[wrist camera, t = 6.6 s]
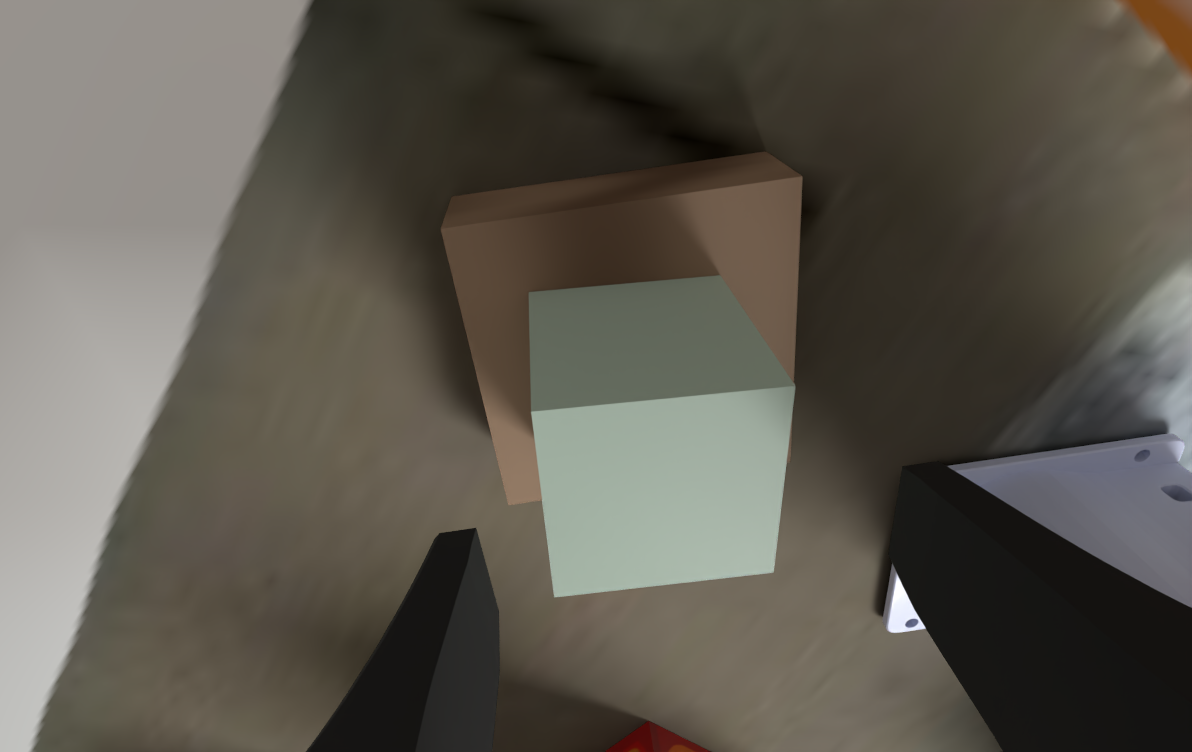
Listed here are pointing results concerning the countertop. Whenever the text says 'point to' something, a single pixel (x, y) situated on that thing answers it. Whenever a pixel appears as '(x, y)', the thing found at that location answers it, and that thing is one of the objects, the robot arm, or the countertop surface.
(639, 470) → the sage block
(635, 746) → the baking soda box
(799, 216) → the walnut block
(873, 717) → the countertop surface
